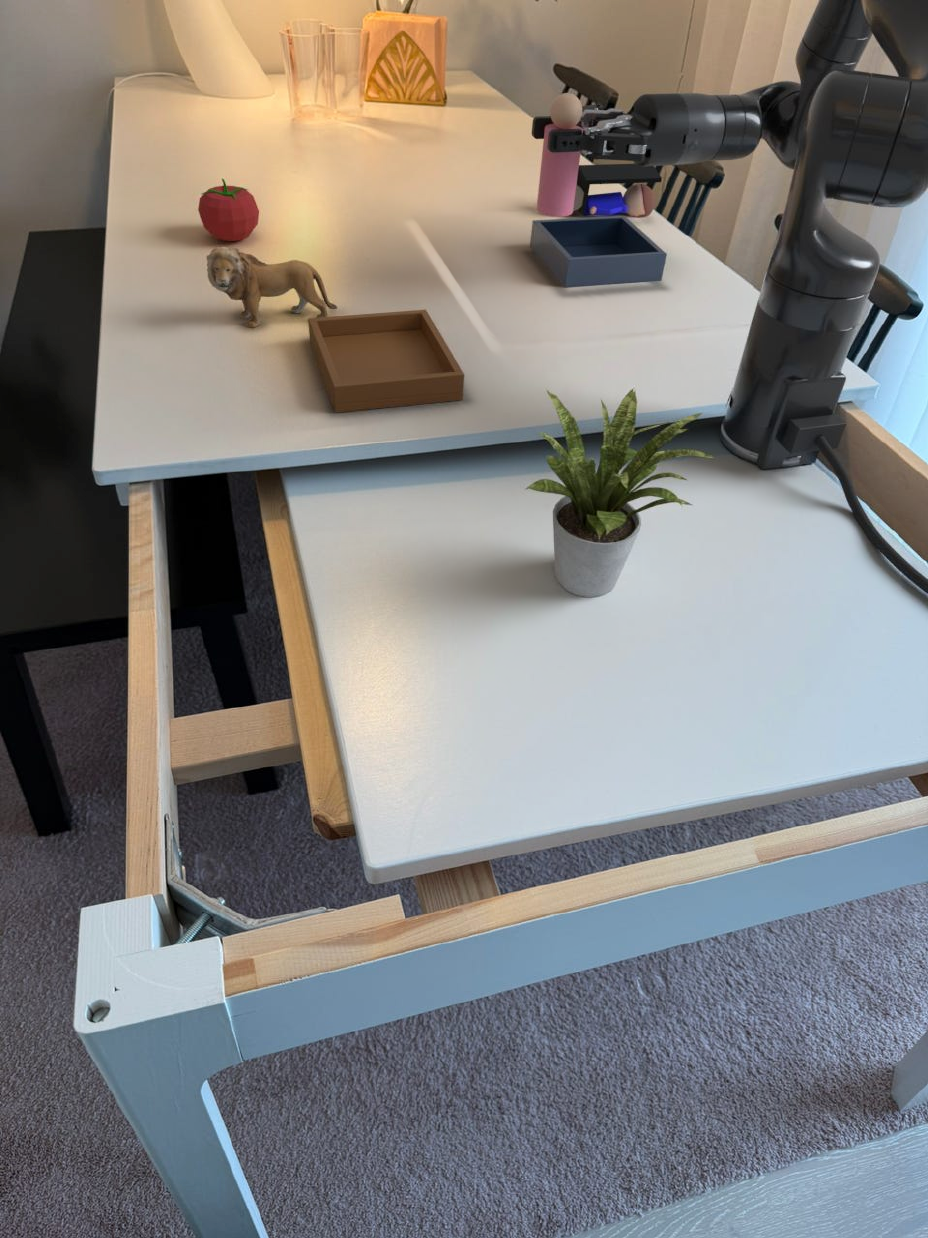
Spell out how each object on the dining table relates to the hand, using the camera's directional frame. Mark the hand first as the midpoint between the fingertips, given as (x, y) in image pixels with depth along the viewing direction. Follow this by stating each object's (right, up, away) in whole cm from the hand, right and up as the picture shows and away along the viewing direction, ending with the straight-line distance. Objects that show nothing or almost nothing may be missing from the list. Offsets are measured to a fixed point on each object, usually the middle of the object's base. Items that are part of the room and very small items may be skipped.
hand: (541, 134), depth 105 cm
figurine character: (+12, +5, +35) cm, 37 cm away
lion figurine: (-31, -20, +4) cm, 37 cm away
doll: (+2, -6, +6) cm, 9 cm away
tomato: (-41, -3, +21) cm, 46 cm away
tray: (-18, -28, -4) cm, 33 cm away
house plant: (+2, -52, -28) cm, 60 cm away
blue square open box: (+9, -8, +20) cm, 23 cm away
